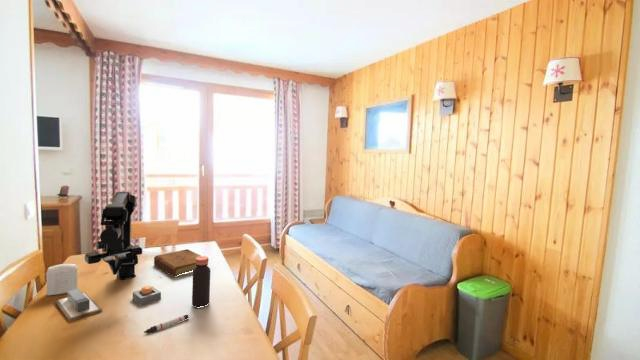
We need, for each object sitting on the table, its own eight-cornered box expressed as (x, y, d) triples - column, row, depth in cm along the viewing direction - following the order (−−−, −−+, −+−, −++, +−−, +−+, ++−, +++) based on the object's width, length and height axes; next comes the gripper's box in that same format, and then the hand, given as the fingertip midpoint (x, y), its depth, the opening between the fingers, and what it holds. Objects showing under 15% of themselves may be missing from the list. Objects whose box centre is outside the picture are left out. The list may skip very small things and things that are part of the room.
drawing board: (85, 294, 132) (85, 292, 132) (101, 311, 120) (101, 308, 120) (55, 302, 124) (55, 300, 124) (69, 321, 112) (69, 318, 112)
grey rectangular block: (78, 296, 128) (78, 288, 127) (89, 308, 119) (89, 299, 119) (67, 299, 125) (67, 291, 125) (77, 312, 116) (77, 303, 116)
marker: (186, 318, 119) (186, 313, 119) (188, 320, 118) (188, 315, 118) (142, 334, 108) (142, 328, 108) (144, 336, 106) (144, 331, 106)
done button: (149, 290, 134) (149, 285, 134) (153, 293, 132) (154, 288, 132) (139, 293, 131) (139, 288, 131) (143, 296, 129) (143, 291, 129)
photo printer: (78, 288, 138) (77, 261, 137) (77, 292, 134) (77, 264, 133) (47, 292, 132) (47, 264, 131) (45, 297, 128) (45, 268, 127)
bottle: (190, 309, 125) (192, 261, 124) (193, 301, 132) (194, 255, 130) (208, 308, 127) (210, 260, 126) (209, 300, 134) (211, 255, 132)
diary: (154, 266, 169) (154, 256, 169) (187, 258, 184) (187, 249, 183) (174, 278, 155) (174, 267, 154) (208, 269, 169) (208, 258, 169)
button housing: (152, 292, 137) (152, 286, 137) (160, 299, 132) (160, 292, 132) (132, 298, 131) (132, 292, 131) (140, 305, 126) (140, 298, 126)
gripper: (132, 229, 137) (132, 263, 138) (80, 236, 123) (80, 274, 124) (142, 234, 130) (142, 270, 131) (88, 242, 115) (88, 283, 117)
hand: (114, 274), depth 126 cm, fingers closed
